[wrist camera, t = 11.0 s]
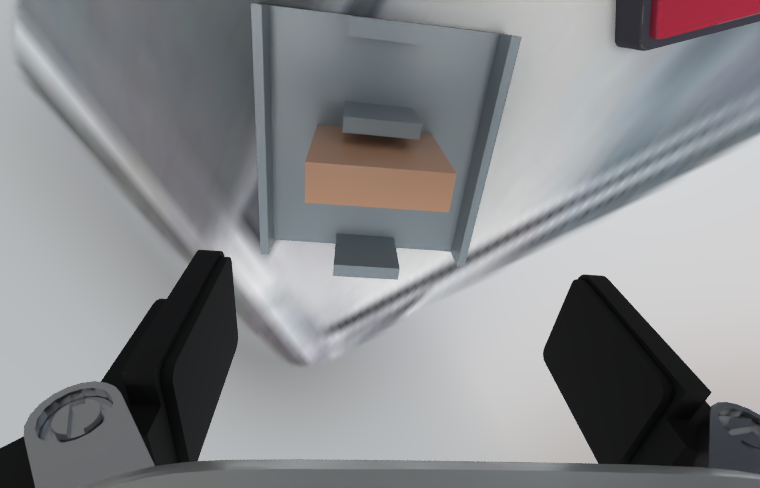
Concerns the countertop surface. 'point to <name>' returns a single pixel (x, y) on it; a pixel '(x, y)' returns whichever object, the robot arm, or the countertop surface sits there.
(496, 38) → the rack
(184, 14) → the countertop surface
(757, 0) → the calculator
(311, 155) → the tile
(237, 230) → the countertop surface
